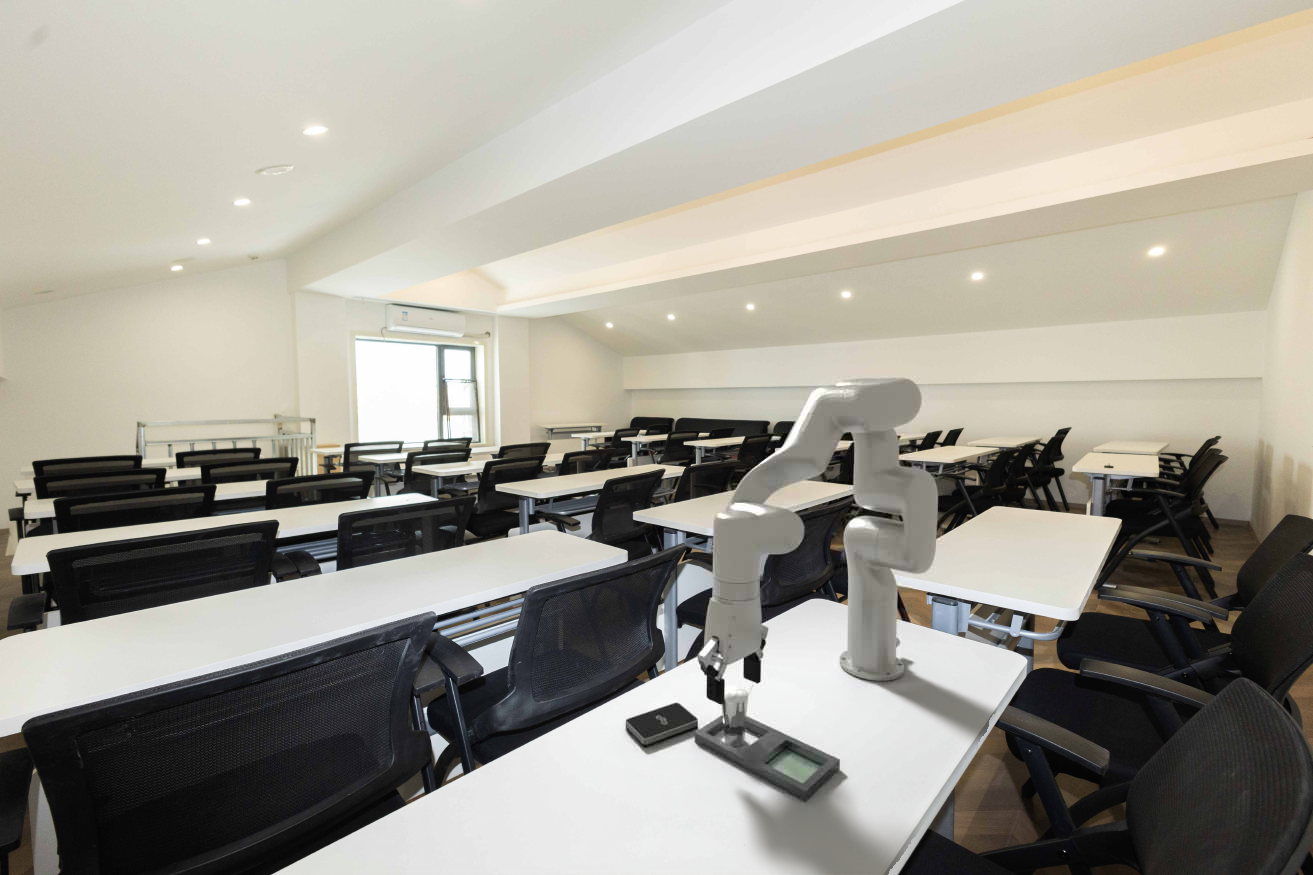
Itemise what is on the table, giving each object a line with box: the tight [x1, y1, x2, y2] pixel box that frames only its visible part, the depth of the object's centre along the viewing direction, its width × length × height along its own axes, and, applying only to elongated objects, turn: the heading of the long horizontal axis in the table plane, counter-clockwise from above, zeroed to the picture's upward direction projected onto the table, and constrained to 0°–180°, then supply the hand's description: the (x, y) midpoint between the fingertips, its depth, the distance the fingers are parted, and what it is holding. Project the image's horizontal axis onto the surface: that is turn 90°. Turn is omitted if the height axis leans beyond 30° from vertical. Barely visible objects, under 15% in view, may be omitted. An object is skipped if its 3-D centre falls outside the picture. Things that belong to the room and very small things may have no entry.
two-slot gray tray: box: [694, 714, 841, 803], centre depth 94 cm, size 10×21×2 cm, turn 45°
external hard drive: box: [625, 702, 699, 749], centre depth 102 cm, size 7×11×2 cm, turn 121°
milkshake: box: [721, 684, 754, 747], centre depth 97 cm, size 4×5×10 cm
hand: (734, 690), depth 97 cm, fingers open, 9 cm apart
